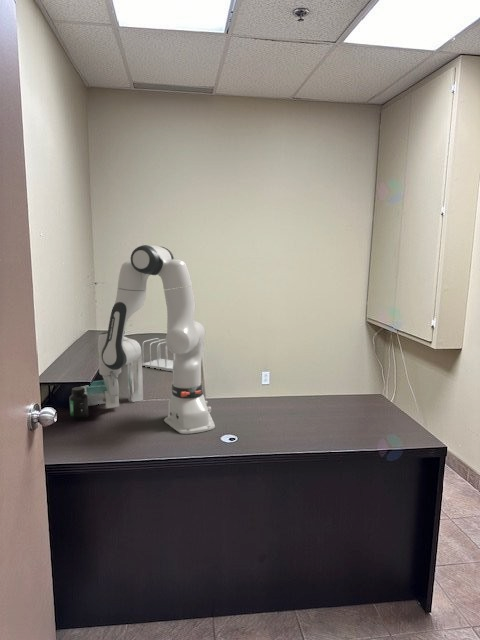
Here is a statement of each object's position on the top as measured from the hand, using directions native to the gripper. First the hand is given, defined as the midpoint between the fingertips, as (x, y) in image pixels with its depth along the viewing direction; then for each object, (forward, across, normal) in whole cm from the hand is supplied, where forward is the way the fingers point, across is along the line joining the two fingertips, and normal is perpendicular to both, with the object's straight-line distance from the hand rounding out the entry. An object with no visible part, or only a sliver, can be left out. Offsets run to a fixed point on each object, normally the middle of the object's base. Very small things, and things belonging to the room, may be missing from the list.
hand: (112, 400), depth 176 cm
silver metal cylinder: (+4, +9, -11) cm, 15 cm away
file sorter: (+4, +64, -39) cm, 75 cm away
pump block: (+2, 0, 0) cm, 2 cm away
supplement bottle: (+4, -3, +13) cm, 14 cm away
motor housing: (+4, +16, +5) cm, 17 cm away
